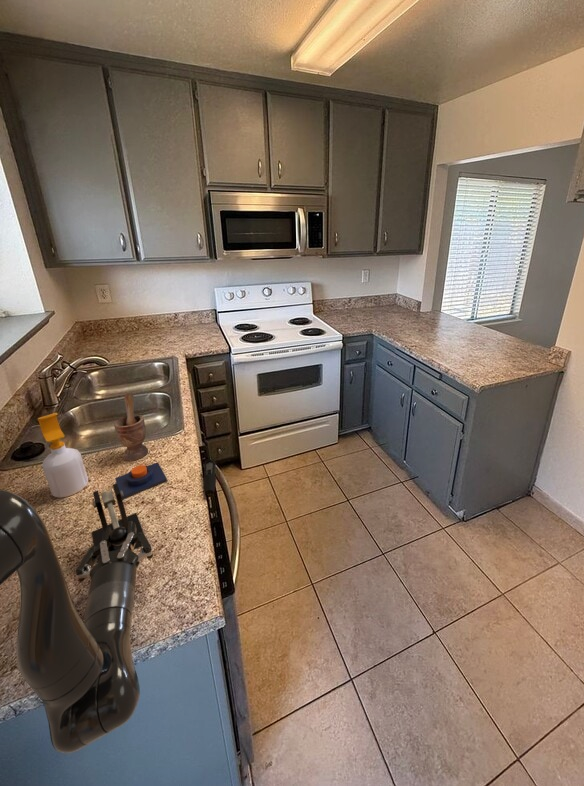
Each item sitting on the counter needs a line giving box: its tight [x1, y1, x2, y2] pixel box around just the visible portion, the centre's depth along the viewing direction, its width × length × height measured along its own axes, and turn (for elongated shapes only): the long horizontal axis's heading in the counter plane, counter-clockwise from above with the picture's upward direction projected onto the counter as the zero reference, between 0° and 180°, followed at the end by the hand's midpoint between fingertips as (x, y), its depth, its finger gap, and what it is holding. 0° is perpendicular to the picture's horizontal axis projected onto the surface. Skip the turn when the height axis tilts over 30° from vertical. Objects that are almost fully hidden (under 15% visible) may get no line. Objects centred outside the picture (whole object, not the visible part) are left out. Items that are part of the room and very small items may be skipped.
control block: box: [114, 462, 168, 501], centre depth 105 cm, size 12×10×4 cm
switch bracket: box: [91, 482, 144, 563], centre depth 84 cm, size 12×10×15 cm
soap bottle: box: [37, 412, 89, 498], centre depth 101 cm, size 9×9×25 cm
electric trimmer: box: [203, 458, 217, 495], centre depth 107 cm, size 4×16×3 cm, turn 16°
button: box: [130, 464, 147, 479], centre depth 105 cm, size 4×4×2 cm
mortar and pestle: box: [113, 392, 149, 462], centre depth 118 cm, size 12×9×20 cm
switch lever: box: [100, 488, 128, 546], centre depth 79 cm, size 13×4×4 cm, turn 38°
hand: (120, 527), depth 79 cm, fingers closed on switch lever, 3 cm apart
